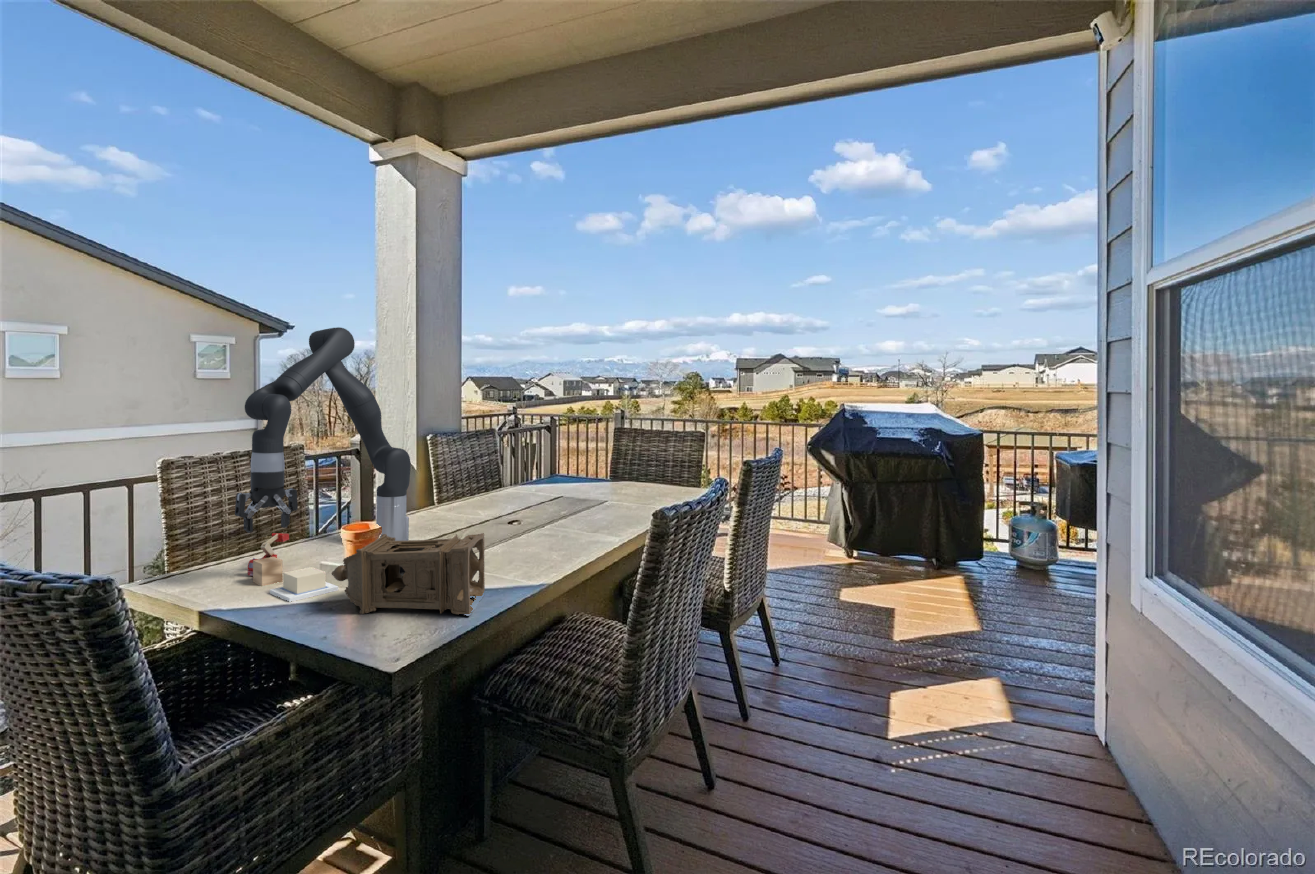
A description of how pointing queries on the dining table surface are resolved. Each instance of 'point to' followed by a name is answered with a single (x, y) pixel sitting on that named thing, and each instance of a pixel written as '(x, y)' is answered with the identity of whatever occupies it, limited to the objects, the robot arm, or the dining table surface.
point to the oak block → (267, 571)
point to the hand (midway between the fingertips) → (267, 529)
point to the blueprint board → (302, 596)
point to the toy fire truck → (268, 549)
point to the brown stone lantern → (415, 574)
